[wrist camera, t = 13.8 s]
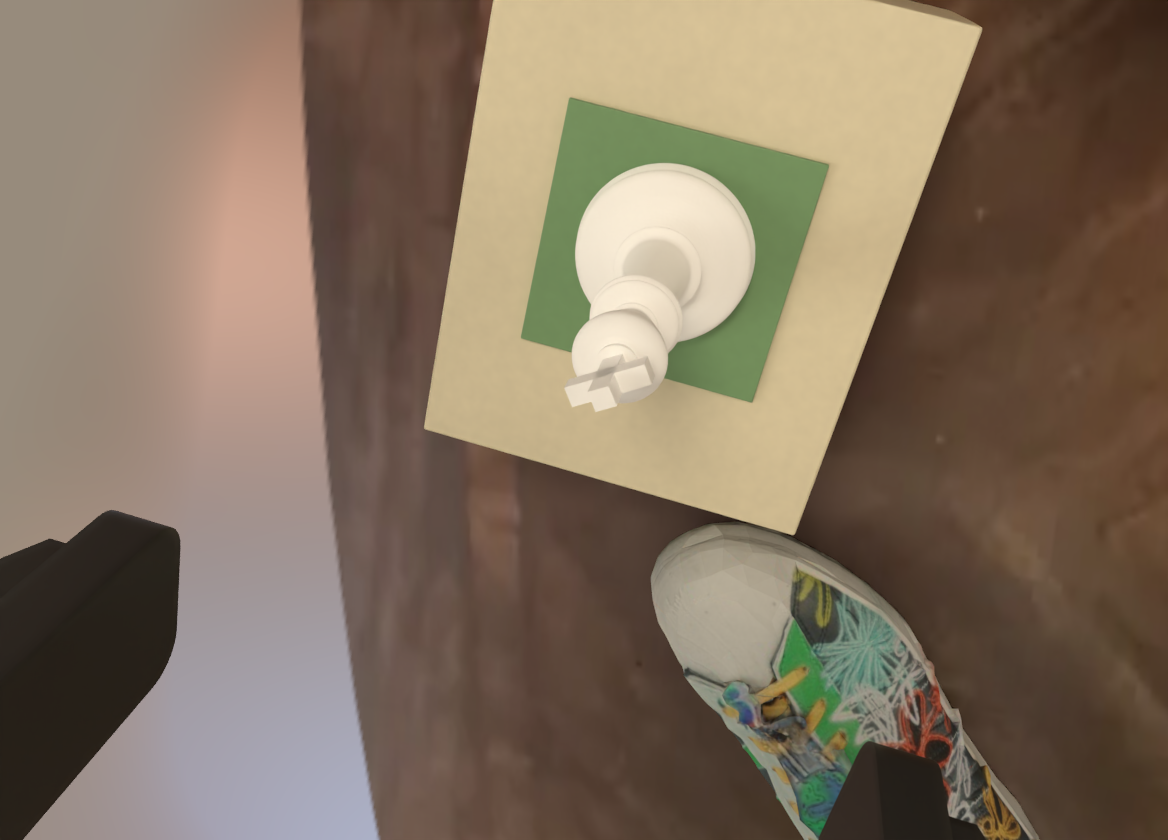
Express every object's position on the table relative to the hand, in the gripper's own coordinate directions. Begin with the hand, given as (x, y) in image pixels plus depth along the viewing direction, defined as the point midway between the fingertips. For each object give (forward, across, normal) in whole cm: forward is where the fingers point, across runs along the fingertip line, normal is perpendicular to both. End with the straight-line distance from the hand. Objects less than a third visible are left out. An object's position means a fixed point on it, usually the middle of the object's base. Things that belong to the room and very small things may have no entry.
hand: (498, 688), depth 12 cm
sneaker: (+25, -12, +18) cm, 33 cm away
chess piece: (+19, 0, 0) cm, 19 cm away
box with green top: (+25, 0, 0) cm, 25 cm away
